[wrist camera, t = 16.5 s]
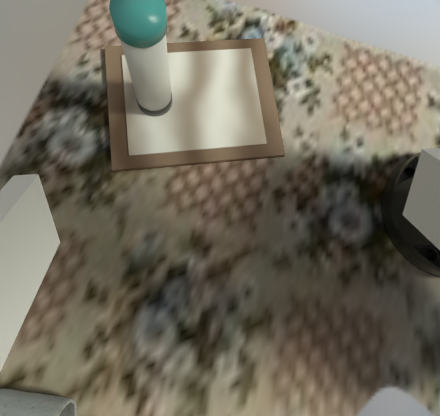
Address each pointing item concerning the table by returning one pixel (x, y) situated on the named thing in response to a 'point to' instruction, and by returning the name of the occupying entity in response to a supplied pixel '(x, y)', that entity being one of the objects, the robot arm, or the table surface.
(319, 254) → the table surface
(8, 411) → the ceramic mug
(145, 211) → the table surface
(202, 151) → the writing pad
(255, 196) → the table surface
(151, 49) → the marker
